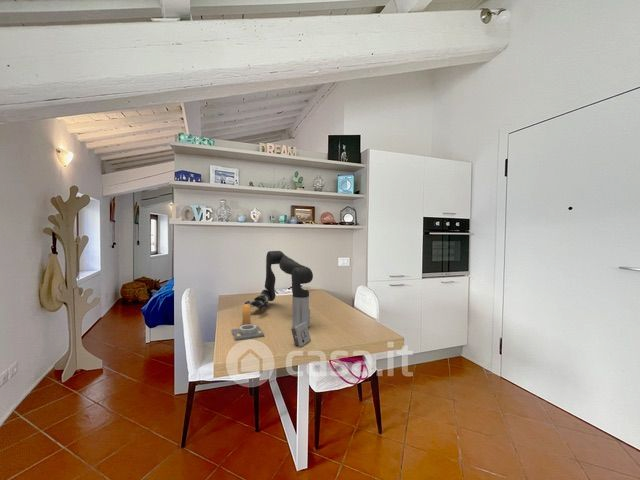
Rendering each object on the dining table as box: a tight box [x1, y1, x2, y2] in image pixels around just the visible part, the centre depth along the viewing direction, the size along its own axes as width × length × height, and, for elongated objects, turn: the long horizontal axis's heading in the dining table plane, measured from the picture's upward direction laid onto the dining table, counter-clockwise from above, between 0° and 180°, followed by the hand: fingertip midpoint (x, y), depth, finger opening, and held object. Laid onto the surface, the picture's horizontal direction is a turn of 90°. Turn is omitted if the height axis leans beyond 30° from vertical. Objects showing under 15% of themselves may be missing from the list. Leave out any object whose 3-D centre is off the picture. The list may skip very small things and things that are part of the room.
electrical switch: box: [291, 322, 312, 348], centre depth 130 cm, size 9×5×9 cm, turn 152°
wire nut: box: [241, 303, 251, 326], centre depth 156 cm, size 4×4×11 cm
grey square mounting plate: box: [231, 323, 265, 342], centre depth 140 cm, size 14×14×4 cm
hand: (252, 307), depth 167 cm, fingers open, 8 cm apart
